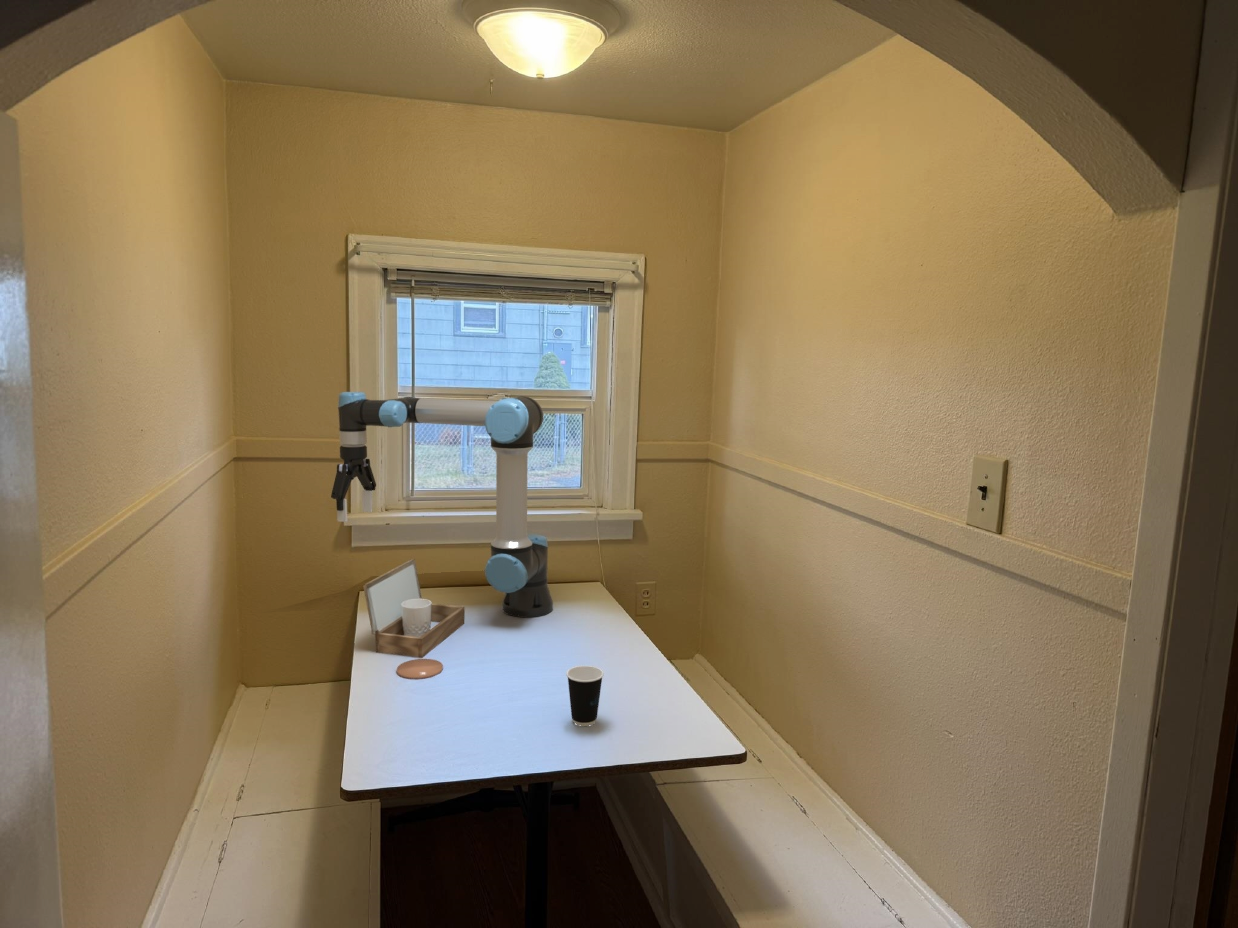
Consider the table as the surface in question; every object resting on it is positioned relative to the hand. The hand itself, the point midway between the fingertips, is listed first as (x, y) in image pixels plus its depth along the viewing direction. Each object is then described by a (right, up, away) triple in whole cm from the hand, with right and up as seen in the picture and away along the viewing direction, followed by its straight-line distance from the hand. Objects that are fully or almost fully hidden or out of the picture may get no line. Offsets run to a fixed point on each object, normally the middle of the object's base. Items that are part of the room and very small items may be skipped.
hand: (355, 516), depth 234 cm
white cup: (+23, -32, -19) cm, 44 cm away
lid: (+17, -20, -18) cm, 32 cm away
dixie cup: (+70, -40, -64) cm, 104 cm away
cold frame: (+24, -32, -18) cm, 44 cm away
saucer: (+29, -35, -40) cm, 60 cm away
